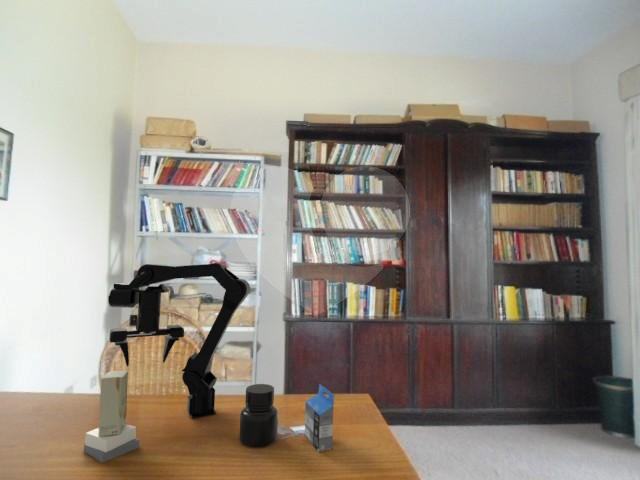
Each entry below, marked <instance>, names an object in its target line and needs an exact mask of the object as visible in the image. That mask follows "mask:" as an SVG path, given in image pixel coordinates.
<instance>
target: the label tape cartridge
mask: <svg viewBox="0 0 640 480" xmlns="http://www.w3.org/2000/svg"><path fill="white" fill-rule="evenodd" d="M324 393H325V394H326V395H327V396H328V397H327V396H326V395H325V394H324ZM304 403H305V405H304V406H305V407H304V409H305V412H304V436H305V437H307V438H306V439H307V440H308V441H309V442H310V443H311V445H312V446H313V448H314V449H316V451H317V452H318V453H322V452H321V451H324V450H328V451H330V450H329V449H332V450H333V436H334V435H333V434H334V428H333V427H334V406H335V405H334V404H335V394H334V393H333V392H331V391H330V390H328V389H327V388H326V387H325V386H323V385H322V384H321V383H319V385H318V392H317V393H316V394H315V395H314V396H312V397H311V398H308V399H307V400H306V401H305V402H304ZM324 452H325V451H324Z"/></svg>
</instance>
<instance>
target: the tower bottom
mask: <svg viewBox="0 0 640 480" xmlns="http://www.w3.org/2000/svg"><path fill="white" fill-rule="evenodd" d="M83 444H84V445H83V452H84V453H85V454H88V455H89V456H91V457H92V458H94V459H95V460H96V461H98V462H100V463H101V464H103V463H105V462H108V461H109V460H112V459H115V458H117V457H120V456H122V455H124V454H126V453H129V452H131V451H134V450H136V449H139V448H140V438H138V437H136V436H135V439H133V440H131V441H129V442H127V443H125V444H123V445H121V446H118V447H116V448H114V449H112V450H110V451H108V452H103V451H100V450H98V449H95V448H92V447H89V446H87V445H85V442H84V443H83Z"/></svg>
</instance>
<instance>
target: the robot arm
mask: <svg viewBox="0 0 640 480" xmlns="http://www.w3.org/2000/svg"><path fill="white" fill-rule="evenodd" d="M205 277H206V278H207V277H209V278H210V277H212V278H214V279H215V281H216V282H217V283H218V284H219V286H221V287H222V288H223V290H225V292H224V294H223V299H222V305H221V308H220V310H219V311H218V314H217V316H216V318H215V320H214V321H213V324H212V326H211V328H210V330H209V332H208V334H207V336H206V338H205V340H204V342H203V344H202V346H201V348H200V349H199V352H198V353H197V352H196V351H195V352H194V353H192V354H191V355H190V356H189V357H188V359H187V361H186V365H185V366H184V368H183V369H181V372H183V373H182V376H181V379H182V382H183V384H184V385H185V386H186V387H187V390H188V394H189V395H187V402H186V411H187V413H188V415H189V416H190V418H191V419H195V418H196V419H197V418H201V417H207V416H212V415H213V416H214V415H216V414H217V411H216V410H215V403H216V402H215V401H216V399H215V398H216V396H215V395H216V389H215V388H214V386H215V385H216V382H217V379H218V377H216V375H215V374H214V373H213V372H212V371H211V369H212V365H213V360H214V355H215V354H216V351H217V349H218V347H219V346H220V343H221V341H222V339H223V337H224V335H225V333H226V331H227V329H228V327H229V325H230V323H231V321H232V319H233V317H234V315H235V312H237V310H238V309H239V308H240V306H241V305H242V303H243V302H245V300H246V298H247V297H248V296H249V294H250V292H251V286H250V283H249V282H248V281H247V280H246V279H243V278H240V277H238V276H237V275H236V274H235V273H234V272H232V271H231V270H229V269H228V268H226V267H225V265H224V264H223V263H221V262H213V263H205V264H191V265H179V266H178V265H177V266H176V265H175V266H174V265H167V264H159V263H158V264H157V263H149V264H148V263H147V264H146V263H145V264H142V265H141V266H140V267H139V268H138V270H137V273H136V276H135V277H134V278H133V279H132V280H131V282H130V283H122V282H116V283H113V288H111V290H110V292H109V295H108V297H107V298H108V305H109V307H110V308H127V309H129V308H131V309H132V308H135V307H136V305H138V309H137V314H130V315H129V320H128V321H129V323H128V325H129V328H131V327H133V328H134V327H135V330H128V329H127V328H126V327H120V328H111V329H110V330H109V335H108V337H109V338H108V340H109V343H114V345H115V346H119V347H120V350H121V351H122V353H123V358H124V360H125V361H124V362H125V364H126V368H128V367H129V365H130V364H129V363H130V355H129V343H128V339H129V338H132V339H133V338H143V337H146V338H147V337H157V336H159V337H160V336H164V341H165V342H164V348H163V353H162V363H165V362H166V360H167V358H168V356H169V353H170V352H171V350H172V347H173V346H174V345H175V343H176V342H177V341H180V338H184V337H185V328H183V326H181V325H180V324H171V325H170V324H169V325H167V326H166V328H160V323H161V322H160V319H161V305H162V303H161V302H162V293H163V294H165V293H169V292H170V290H169V288H167V287H166V286H165V284H164V282H169V281H172V280H177V279H191V278H195V279H196V278H205ZM160 283H161V284H160ZM157 284H159V285H157ZM151 285H154V286H151ZM155 285H157V286H155ZM140 288H145V289H140Z"/></svg>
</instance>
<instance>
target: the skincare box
mask: <svg viewBox="0 0 640 480" xmlns="http://www.w3.org/2000/svg"><path fill="white" fill-rule="evenodd" d="M128 378H129V370H112V371H111V370H110V371H107V372H106V373H105V374H104V375H103V377H101V379H100V394H99V395H100V396H99V398H100V400H99V402H100V403H99V417H98V419H99V420H98V421H99V423H98V428H99V436H106V435H115V434H120V433H121V432H122V430H123V428H124V426H125V424H127V410H128V408H127V407H128V406H127V405H128V384H129V383H128V382H129V381H128Z"/></svg>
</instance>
